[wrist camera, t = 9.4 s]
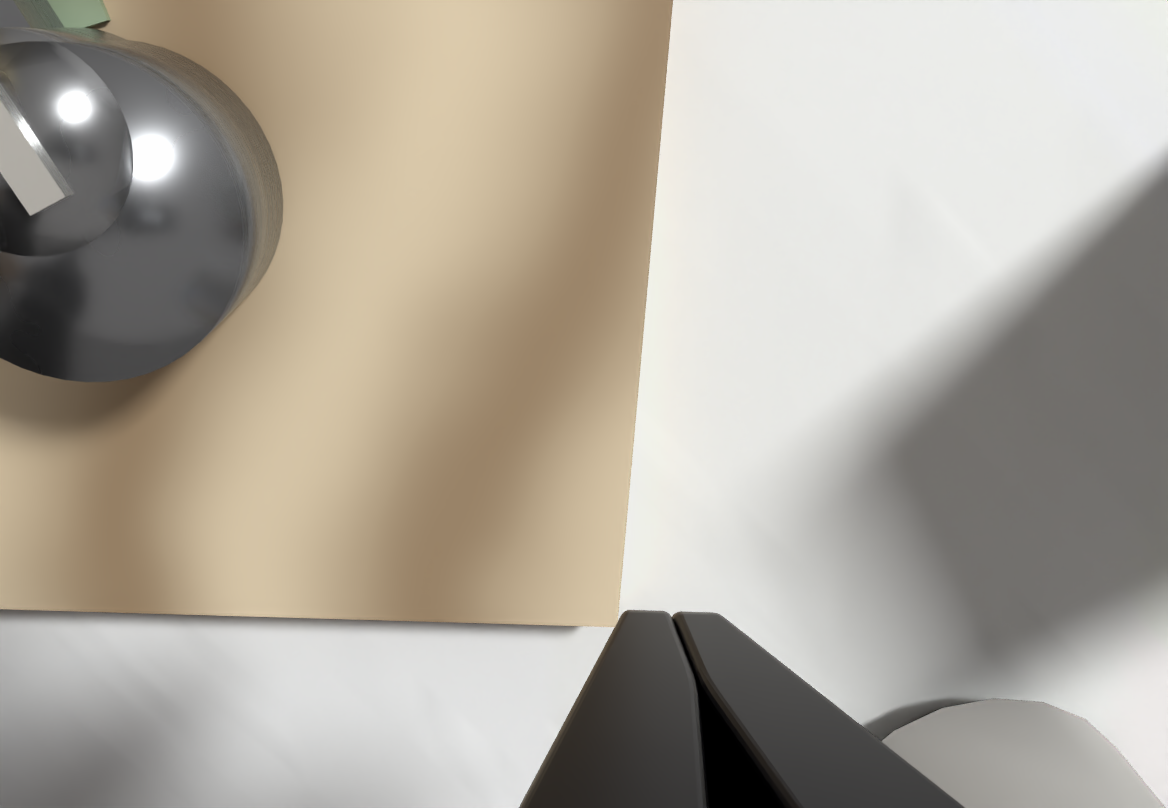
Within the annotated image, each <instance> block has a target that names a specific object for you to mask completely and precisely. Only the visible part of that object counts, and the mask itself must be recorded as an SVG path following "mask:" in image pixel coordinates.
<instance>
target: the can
mask: <svg viewBox="0 0 1168 808" xmlns="http://www.w3.org/2000/svg"><path fill="white" fill-rule="evenodd" d="M881 742H883V743H884V744H885V745H887V746H888V747H889V748H890V749H892V750H893V751H894V752H895V753H897V754H898V755H899V756H900V757H902V758H903V759H904V760H906V761H907V762H908V763H909V764H911V765H912V766H913V767H914V768H916V769H917V770H918V771H919V772H921V773H922V774H923V775H925V776H926V777H927V778H928V779H930V780H931V781H932V782H933V783H935V784H936V785H937V786H939V787H940V788H941V789H942V790H944V791H945V792H946V793H947V794H949V795H950V796H951V797H952V798H954V799H955V800H956V801H958V802H959V803H960V804H961V805H963V806H964V807H965V808H1165V806H1164V805H1163V804H1162V803H1161V801H1160V800H1159V799H1158V798H1157V797H1156V795H1155V794H1154V793H1153V792H1152V790H1151V789H1150V788H1149V787H1148V786H1147V784H1146V783H1145V782H1144V781H1143V779H1142V778H1141V777H1140V776H1139V775H1138V773H1137V772H1136V771H1135V770H1134V768H1133V767H1132V766H1131V765H1130V764H1129V762H1128V761H1127V760H1126V759H1125V757H1124V756H1123V755H1122V754H1121V753H1120V751H1119V750H1118V749H1117V748H1116V747H1115V746H1114V745H1113V744H1112V743H1111V742H1110V741H1109V740H1108V739H1107V738H1106V737H1105V736H1103V735H1102V734H1101V733H1100V732H1099V731H1098V730H1097V729H1096V728H1095V727H1094V726H1093V725H1091V724H1090V723H1089V722H1088V721H1087V720H1086V719H1084V718H1082V717H1079V716H1077V715H1074V714H1072V713H1069V712H1067V711H1064V710H1062V709H1059V708H1057V707H1054V706H1052V705H1049V704H1047V703H1044V702H1035V701H1022V700H1009V699H996V698H993V699H987V700H982V701H977V702H972V703H966V704H961V705H956V706H951V707H945V708H941V709H939V710H937V711H934V712H932V713H930V714H928V715H926V716H924V717H922V718H919V719H917V720H915V721H913V722H911V723H909V724H907V725H905V726H902V727H900V728H899V729H896V730H894V731H893V732H892V733H891V734H889V735H888V736H887V737H886V738H885V739H883V740H882V741H881Z"/></svg>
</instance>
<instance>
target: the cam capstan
mask: <svg viewBox="0 0 1168 808" xmlns="http://www.w3.org/2000/svg"><path fill="white" fill-rule="evenodd" d="M282 222H283V193H282V183H281V179H280V174H279V170H278V166H277V162H276V160H275V157H274V154H273V151H272V149H271V146H270V144H269V142H268V140H267V138H266V136H265V134H264V132H263V130H262V128H261V126H260V125H259V123H258V122H257V120H256V119H255V117H254V116H253V114H252V113H251V111H250V110H249V109H248V107H247V106H246V105H245V104H244V103H243V102H242V100H241V99H240V98H239V97H238V96H237V95H236V93H235V92H233V91H232V90H231V89H230V88H229V87H228V86H227V85H226V84H225V83H224V82H223V81H222V80H220V79H219V78H218V77H217V76H215V75H214V74H212V73H211V72H210V71H208V70H207V69H206V68H204V67H203V66H201V65H199V64H198V63H196V62H194V61H192V60H190V59H189V58H187V57H185V56H183V55H181V54H178V53H176V52H173V51H171V50H168V49H166V48H164V47H160V46H156V45H152V44H149V43H145V42H139V41H132V40H126V39H124V38H122V37H119V36H117V35H114V34H112V33H109V32H105V31H101V30H98V29H91V28H65V27H64V26H63V24H62V23H61V21H60V20H59V18H58V16H57V15H56V13H55V12H54V10H53V8H52V7H51V5H50V4H49V2H48V1H47V0H0V358H1V359H3V360H6V361H8V362H10V363H12V364H14V365H16V366H18V367H20V368H23V369H26V370H29V371H32V372H35V373H38V374H41V375H44V376H49V377H53V378H58V379H62V380H70V381H79V382H110V381H117V380H125V379H130V378H134V377H137V376H141V375H145V374H148V373H151V372H153V371H155V370H158V369H160V368H162V367H165V366H167V365H169V364H170V363H172V362H174V361H175V360H177V359H179V358H180V357H182V356H184V355H185V354H186V353H187V352H189V351H190V350H191V349H192V348H194V347H195V346H196V345H197V344H199V343H200V342H201V341H202V340H203V339H204V338H205V337H206V336H207V335H208V334H209V333H210V332H211V331H212V330H213V329H214V328H215V327H216V326H217V325H219V324H220V323H221V322H222V321H223V320H224V319H225V318H226V317H227V316H228V315H229V314H230V313H231V312H232V311H233V310H234V309H235V308H236V307H237V306H238V305H239V304H240V303H241V302H242V301H244V300H245V299H246V297H247V296H248V295H249V294H250V293H251V292H252V291H253V290H254V289H255V288H256V287H257V285H258V284H259V282H260V281H261V279H262V278H263V276H264V275H265V273H266V272H267V270H268V268H269V266H270V264H271V262H272V259H273V257H274V255H275V252H276V249H277V246H278V243H279V239H280V234H281V228H282Z"/></svg>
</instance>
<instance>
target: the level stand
mask: <svg viewBox="0 0 1168 808" xmlns="http://www.w3.org/2000/svg"><path fill="white" fill-rule="evenodd" d="M47 1H48V2H49V4H50V5H51V7H52V8H53V10H54V12H55V13H56V15H57V16H58V18H59V20H60V21H61V23H62V24H63V26H64V27H65V28H91V29H98V30H101V31H105V32H109V33H112V34H114V35H117V36H119V37H122V38H124V39H126V40H132V41H139V42H145V43H149V44H152V45H156V46H160V47H164V48H166V49H168V50H171V51H173V52H176V53H178V54H181V55H183V56H185V57H187V58H189V59H190V60H192V61H194V62H196V63H198V64H199V65H201V66H203V67H204V68H206V69H207V70H208V71H210V72H211V73H212V74H214V75H215V76H217V77H218V78H219V79H220V80H222V81H223V82H224V83H225V84H226V85H227V86H228V87H229V88H230V89H231V90H232V91H233V92H235V93H236V95H237V96H238V97H239V98H240V99H241V100H242V102H243V103H244V104H245V105H246V106H247V107H248V109H249V110H250V111H251V113H252V114H253V116H254V117H255V119H256V120H257V122H258V123H259V125H260V126H261V128H262V130H263V132H264V134H265V136H266V138H267V140H268V142H269V144H270V146H271V149H272V151H273V154H274V157H275V160H276V162H277V166H278V170H279V174H280V179H281V183H282V193H283V222H282V228H281V234H280V239H279V243H278V246H277V249H276V252H275V255H274V257H273V259H272V262H271V264H270V266H269V268H268V270H267V272H266V273H265V275H264V276H263V278H262V279H261V281H260V282H259V284H258V285H257V287H256V288H255V289H254V290H253V291H252V292H251V293H250V294H249V295H248V296H247V297H246V299H245V300H244V301H242V302H241V303H240V304H239V305H238V306H237V307H236V308H235V309H234V310H233V311H232V312H231V313H230V314H229V315H228V316H227V317H226V318H225V319H224V320H223V321H222V322H221V323H220V324H219V325H217V326H216V327H215V328H214V329H213V330H212V331H211V332H210V333H209V334H208V335H207V336H206V337H205V338H204V339H203V340H202V341H201V342H200V343H199V344H197V345H196V346H195V347H194V348H192V349H191V350H190V351H189V352H187V353H186V354H185V355H184V356H182V357H180V358H179V359H177V360H175V361H174V362H172V363H170V364H169V365H167V366H165V367H162V368H160V369H158V370H155V371H153V372H151V373H148V374H145V375H141V376H137V377H134V378H130V379H125V380H117V381H110V382H79V381H70V380H62V379H58V378H53V377H49V376H44V375H41V374H38V373H35V372H32V371H29V370H26V369H23V368H20V367H18V366H16V365H14V364H12V363H10V362H8V361H6V360H3V359H1V358H0V609H11V610H46V611H80V612H114V613H149V614H183V615H217V616H252V617H286V618H320V619H355V620H389V621H423V622H457V623H492V624H526V625H560V626H595V627H615V626H616V624H617V622H618V612H619V600H620V589H621V578H622V567H623V555H624V544H625V533H626V522H627V510H628V499H629V488H630V477H631V466H632V454H633V443H634V432H635V421H636V409H637V398H638V387H639V376H640V364H641V353H642V342H643V331H644V320H645V308H646V297H647V286H648V275H649V263H650V252H651V241H652V230H653V218H654V207H655V196H656V185H657V174H658V162H659V151H660V140H661V129H662V117H663V106H664V95H665V84H666V72H667V61H668V50H669V39H670V28H671V16H672V5H673V0H47Z"/></svg>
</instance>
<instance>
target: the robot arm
mask: <svg viewBox="0 0 1168 808" xmlns="http://www.w3.org/2000/svg"><path fill="white" fill-rule="evenodd" d="M519 808H965V807H964V806H963V805H961V804H960V803H959V802H958V801H956V800H955V799H954V798H952V797H951V796H950V795H949V794H947V793H946V792H945V791H944V790H942V789H941V788H940V787H939V786H937V785H936V784H935V783H933V782H932V781H931V780H930V779H928V778H927V777H926V776H925V775H923V774H922V773H921V772H919V771H918V770H917V769H916V768H914V767H913V766H912V765H911V764H909V763H908V762H907V761H906V760H904V759H903V758H902V757H900V756H899V755H898V754H897V753H895V752H894V751H893V750H892V749H890V748H889V747H888V746H887V745H885V744H884V743H883V742H881V741H880V740H879V739H878V738H876V737H875V736H874V735H873V734H871V733H870V732H869V731H867V730H866V729H865V728H864V727H862V726H861V725H860V724H859V723H857V722H856V721H855V720H854V719H852V718H851V717H850V716H848V715H847V714H846V713H845V712H843V711H842V710H841V709H840V708H838V707H837V706H836V705H834V704H833V703H832V702H831V701H829V700H828V699H827V698H826V697H824V696H823V695H822V694H821V693H819V692H818V691H817V690H815V689H814V688H813V687H812V686H810V685H809V684H808V683H807V682H805V681H804V680H803V679H802V678H800V677H799V676H798V675H796V674H795V673H794V672H793V671H791V670H790V669H789V668H788V667H786V666H785V665H784V664H782V663H781V662H780V661H779V660H777V659H776V658H775V657H774V656H772V655H771V654H770V653H769V652H767V651H766V650H765V649H763V648H762V647H761V646H760V645H758V644H757V643H756V642H755V641H753V640H752V639H751V638H749V637H748V636H747V635H746V634H744V633H743V632H742V631H741V630H739V629H738V628H737V627H736V626H734V625H733V624H732V623H730V622H729V621H728V620H727V619H725V618H724V617H723V616H721V615H720V614H717V613H711V612H677V613H675V614H674V615H673V616H672V617H671V616H670V614H669V613H667V612H665V611H646V610H627V611H625V612H624V613H623V614H622V615H621V617H620V618H619V620H618V622H617V624H616V626H615V628H614V630H613V632H612V634H611V635H610V637H609V639H608V641H607V643H606V645H605V647H604V649H603V650H602V652H601V654H600V656H599V658H598V660H597V662H596V664H595V665H594V667H593V669H592V671H591V673H590V675H589V677H588V679H587V681H586V682H585V684H584V686H583V688H582V690H581V692H580V694H579V696H578V697H577V699H576V701H575V703H574V705H573V707H572V709H571V711H570V713H569V714H568V716H567V718H566V720H565V722H564V724H563V726H562V728H561V729H560V731H559V733H558V735H557V737H556V739H555V741H554V743H553V744H552V746H551V748H550V750H549V752H548V754H547V756H546V758H545V760H544V761H543V763H542V765H541V767H540V769H539V771H538V773H537V775H536V776H535V778H534V780H533V782H532V784H531V786H530V788H529V790H528V791H527V793H526V795H525V797H524V799H523V801H522V803H521V805H520V807H519Z"/></svg>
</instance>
